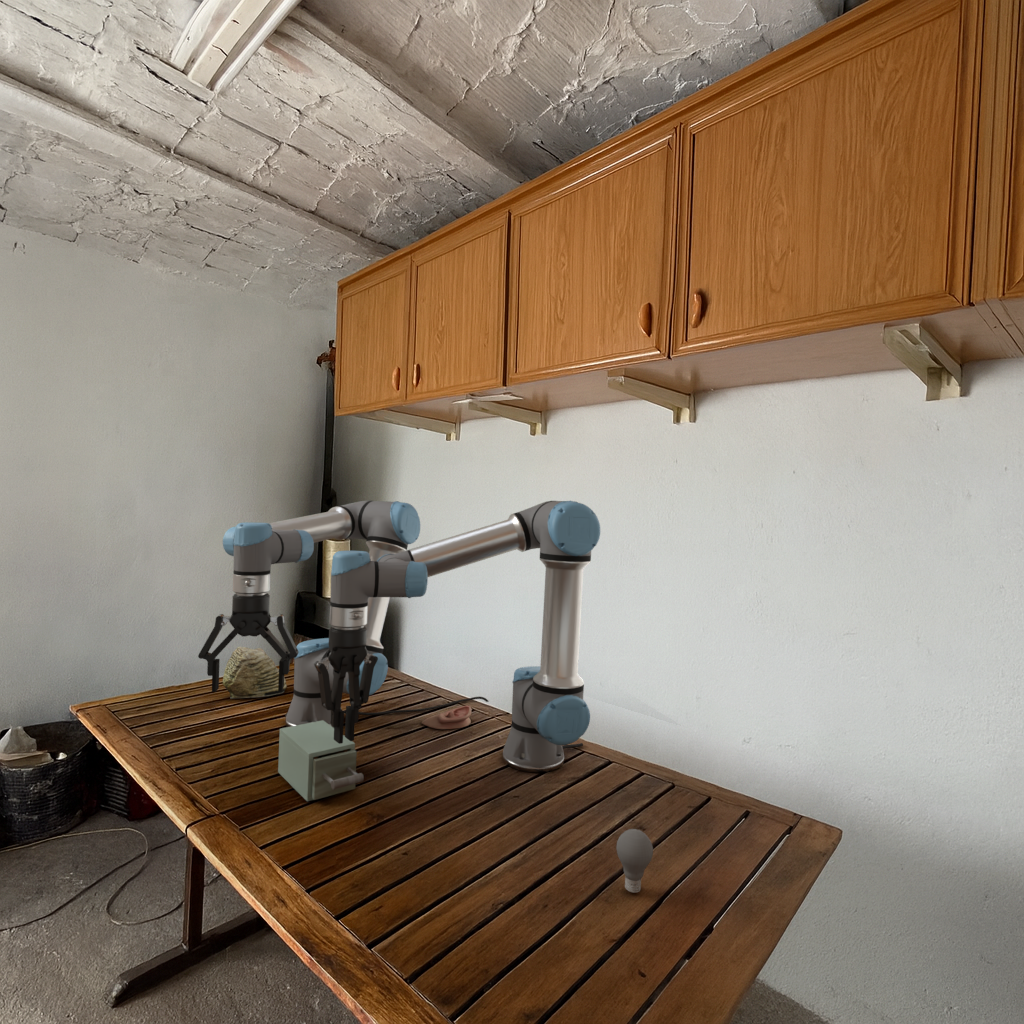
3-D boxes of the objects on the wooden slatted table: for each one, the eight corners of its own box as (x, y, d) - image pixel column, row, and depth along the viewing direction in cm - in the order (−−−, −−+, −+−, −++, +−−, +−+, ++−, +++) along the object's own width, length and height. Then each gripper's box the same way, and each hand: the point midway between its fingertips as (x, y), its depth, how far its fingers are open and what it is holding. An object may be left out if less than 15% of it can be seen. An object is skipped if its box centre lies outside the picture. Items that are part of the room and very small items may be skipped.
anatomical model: (418, 712, 176) (431, 700, 187) (417, 726, 176) (431, 713, 188) (464, 718, 174) (475, 705, 185) (463, 732, 174) (474, 718, 185)
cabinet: (353, 788, 138) (355, 743, 138) (307, 801, 131) (309, 753, 131) (321, 761, 151) (323, 720, 151) (277, 772, 144) (279, 728, 144)
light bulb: (610, 879, 108) (613, 822, 108) (644, 879, 109) (647, 822, 109) (619, 902, 102) (622, 840, 102) (655, 901, 103) (658, 840, 103)
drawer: (368, 800, 131) (370, 761, 131) (326, 812, 125) (328, 772, 125) (325, 763, 148) (326, 729, 148) (286, 772, 142) (287, 737, 142)
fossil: (218, 695, 195) (220, 647, 195) (278, 685, 208) (279, 640, 207) (228, 703, 189) (230, 653, 188) (289, 692, 201) (290, 645, 201)
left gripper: (184, 595, 132) (181, 696, 133) (308, 596, 137) (305, 693, 138) (194, 589, 140) (192, 685, 140) (312, 591, 144) (309, 683, 145)
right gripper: (321, 633, 122) (316, 754, 123) (389, 626, 132) (384, 738, 132) (305, 626, 128) (301, 741, 129) (372, 619, 138) (368, 727, 138)
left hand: (248, 689), depth 139 cm, fingers open, 13 cm apart
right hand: (343, 739), depth 130 cm, fingers closed
